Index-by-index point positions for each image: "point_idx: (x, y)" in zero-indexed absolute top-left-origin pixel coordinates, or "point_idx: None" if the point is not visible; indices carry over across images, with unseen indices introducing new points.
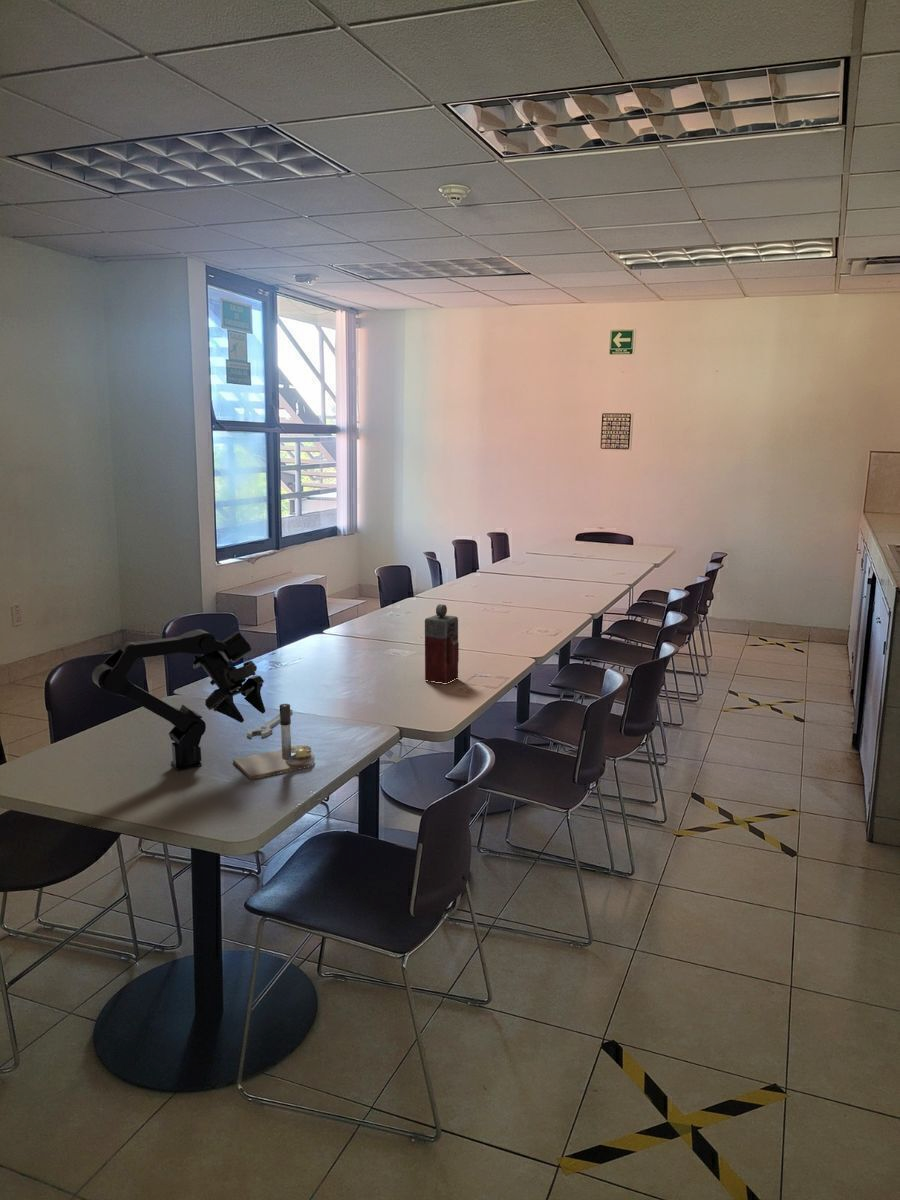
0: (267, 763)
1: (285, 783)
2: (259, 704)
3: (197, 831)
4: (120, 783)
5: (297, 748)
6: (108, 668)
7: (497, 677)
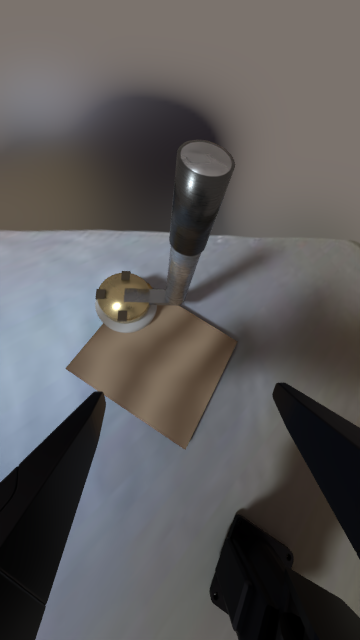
0: (171, 353)
1: (215, 284)
2: (78, 447)
3: None
4: None
5: (121, 301)
6: None
7: None
